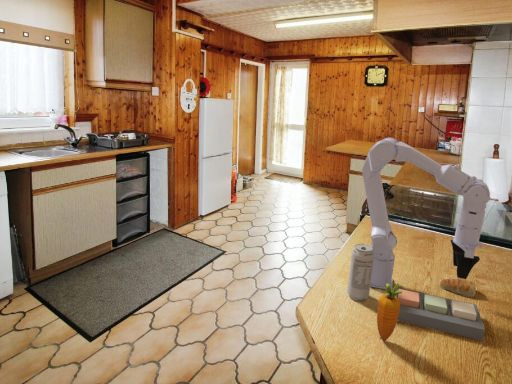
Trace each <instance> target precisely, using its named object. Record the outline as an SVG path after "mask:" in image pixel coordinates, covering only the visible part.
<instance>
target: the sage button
mask: <svg viewBox="0 0 512 384" xmlns="http://www.w3.org/2000/svg"><path fill="white" fill-rule="evenodd" d="M424 294H425V296H424V301H423V309H424V310H428V311H433V312H437V313H442V314H446V312H447V304H446V299H445V298H446V297H443V298H440V297H441V296H438V297H435V296H436V295H433V296H431V295H432V294H428V295H426V294H427V293H424Z"/></svg>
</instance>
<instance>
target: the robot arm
mask: <svg viewBox="0 0 512 384" xmlns="http://www.w3.org/2000/svg"><path fill="white" fill-rule="evenodd" d="M393 160H395V163H396V162H400V163H401V162H409V163H411V164H412V165H414V166H416V167H418V168H420V169H421V170H423V171H425V172H427V173H429V174H431V175H433V176H434V177H435V181H436V182H435V183H437V184H439V185H440V186H442V187H444V188H445V189H447V190H449V191H450V192H452V193H454V194H456V195H457V196H462V197H463V201H462V205H461V207H460V209H459V215H458V218H457V222H456V226H455V227H456V229H455V233H454V237H453V239H451V240H450V243H451V247H452V263H453V266H454V267H456V277H457V279H458V278H461V279H465V280H467V278H468V277H469V274H470V273H471V271H472V269H473V267H474V266H475V265H476V264H478V263H479V261H480V256H478V255H475V253H476V250H477V249H478V248H479V247H480V248H483V247H484V243H483V242H482V241H480V237H481V233H482V229H483V225H484V224H483V223H484V219H485V214H486V208H487V204H488V203H489V202H490V200H491V196H490V195H491V194H490V193H491V192H490V190H489V189H490V188H489V185H488V184H487V183H485V182H484V181H483V180H482V179H479V178H477V177H476V176H475V175H472V176H471V175H469V174H467V173H466V172H464V171H462V170H461V169H460V166H459V165H457V164H455V165H454V166H453V165H451V164H444V165H442V164H440V163H438V162H437V161H435V160H434V159H432V158H431V157H429V156H427V155H425V154H424V153H422V152H421V151H419V150H418V149H416V148H414V147H412V146H410V144H407V143H405V142H403V141H399V140H398V139H396V138H393V137H385V138H383V139H381V140H379V141H376V143H374V145H373V146H371V148H370V149H369V150H368V154H367V156H366V158H365V160H364V163H363V165H362V168H361V173H362V174H361V175H362V179H363V184H364V189H365V197H366V201H367V207H368V213H369V218H370V224H371V233H370V238H371V243H370V245H369V246H371V247H372V248H373V253H374V261H373V269H372V276H371V284H370V287H372V288H377V289H381V290H386V284H389V285H390V288H391V291H392V289H393V284H394V283H393V281H394V280H393V279H394V278H393V272H394V267H395V266H394V265H395V259H396V255H395V253H394V249H395V248H396V246H397V244H398V239H397V238H398V237H397V236H396V235H395V233H394V231H393V228H392V226H391V224H390V221H389V215H388V209H387V203H386V198H385V192H384V187H383V181H382V175H381V172H382V170H384V169H385V167H386V166H387V165H388V163H390V162H392V161H393Z"/></svg>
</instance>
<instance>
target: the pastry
mask: <svg viewBox="0 0 512 384" xmlns="http://www.w3.org/2000/svg"><path fill="white" fill-rule="evenodd" d="M439 285H440V286H441V288H443V289H444V290H446V291H448V292H452V293H453V294H456V295H460V296H464V297H467V298H474V297H475V296H476V282H475V281H474V280H468V279H462V278H458V277H457V278H444V279H442V280H441V281H440V282H439Z"/></svg>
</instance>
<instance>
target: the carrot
mask: <svg viewBox="0 0 512 384" xmlns="http://www.w3.org/2000/svg"><path fill="white" fill-rule="evenodd" d="M393 287H394V290H393V291H392V290H391V288H390V285H389V284H386V289H385V292H386V293H385V294H382V295H379V297H378V303H377V313H376V314H377V315H376V323H377V325H376V326H377V330H378V335H379V337H380V339H381V340H382V341H383V342H386V341H387V340H388V339H389V338H390V337H391V336H392V335H393V332H394V331H395V329H396V325H397V323H398V321H397V320H398V315H399V310H400V300H399V299H398V298H396V297H395V296H396V295H397V294H399V293H402V291H396V290H397V288H399V287H400V283H396V284H395V286H393Z"/></svg>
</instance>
